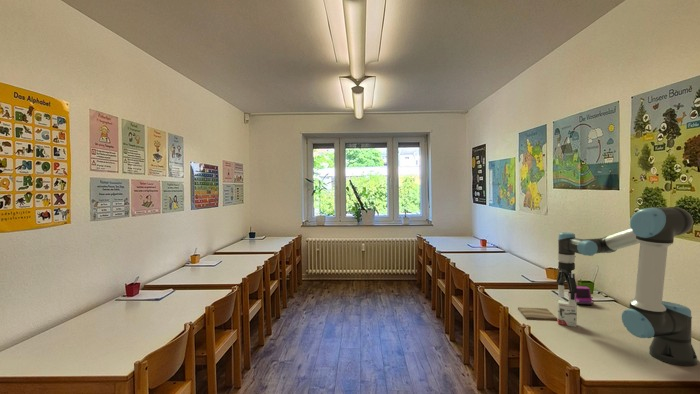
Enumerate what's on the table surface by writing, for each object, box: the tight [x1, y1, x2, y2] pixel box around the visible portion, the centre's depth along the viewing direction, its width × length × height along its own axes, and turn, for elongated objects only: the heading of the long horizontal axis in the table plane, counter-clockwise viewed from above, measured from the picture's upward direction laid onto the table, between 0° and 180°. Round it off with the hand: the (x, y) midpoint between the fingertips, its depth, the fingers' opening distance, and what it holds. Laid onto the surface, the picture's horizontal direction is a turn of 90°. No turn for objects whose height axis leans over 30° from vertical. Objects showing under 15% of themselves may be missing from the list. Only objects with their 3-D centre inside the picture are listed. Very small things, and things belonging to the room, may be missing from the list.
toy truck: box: [567, 285, 595, 306], centre depth 224 cm, size 11×16×10 cm
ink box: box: [557, 299, 578, 328], centre depth 189 cm, size 9×5×12 cm, turn 62°
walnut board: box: [517, 306, 558, 321], centre depth 204 cm, size 16×16×1 cm
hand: (566, 301), depth 190 cm, fingers open, 13 cm apart
